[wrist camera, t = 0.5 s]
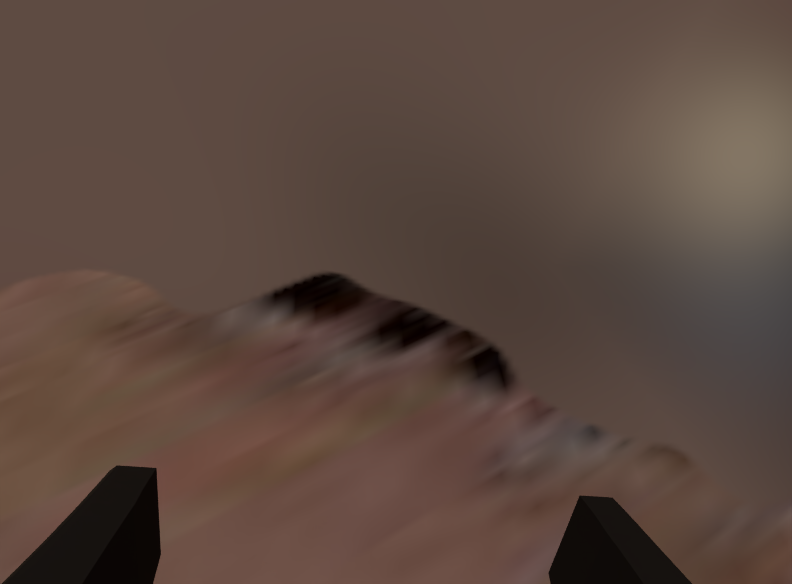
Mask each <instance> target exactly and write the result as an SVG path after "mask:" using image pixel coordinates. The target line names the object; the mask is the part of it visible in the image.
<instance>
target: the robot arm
mask: <svg viewBox="0 0 792 584" xmlns="http://www.w3.org/2000/svg"><path fill="white" fill-rule="evenodd" d="M160 555H161V549H160V529H159V510H158V490H157V471H156V468H147V467H132V466H116V467H114V468H113V469H111V470H110V471H109V472H108V473H107V474H106V476H105V477H104V478H103V479H102V480H101V481H100V482H99V483H98V484H97V486H96V487H95V488H94V489H93V490H92V491H91V492H90V493H89V494H88V495H87V497H86V498H85V499H84V500H83V501H82V502H81V503H80V504H79V505H78V506H77V507H76V509H75V510H74V511H73V512H72V513H71V514H70V515H69V516H68V517H67V518H66V519H65V520H64V521H63V522H62V523H61V524H60V525H59V526H58V528H57V529H56V530H55V531H54V532H53V533H52V534H51V535H50V536H49V537H48V538H47V539H46V540H45V541H44V542H43V543H42V544H41V545H40V546H39V547H38V548H37V549H36V550H35V551H34V552H33V553H32V554H31V555H30V556H29V557H28V558H27V559H26V560H25V561H24V562H23V563H22V564H21V565H20V566H19V567H18V568H17V569H16V570H15V571H14V572H13V573H12V574H11V575H10V576H9V577H8V578H7V579H6V580H5V581H4V582H3V583H2V584H153V581H154V578H155V574H156V570H157V566H158V563H159V559H160ZM549 578H550V583H551V584H692V583H691V582H690V581H689V580H688V579H687V578H686V577H685V576H684V574H683V573H682V572H681V571H680V570H679V569H678V568H677V567H676V566H675V565H674V564H673V563H672V561H671V560H670V559H669V558H668V557H667V556H666V555H665V554H664V553H663V552H662V551H661V549H660V548H659V547H658V546H657V545H656V544H655V543H654V542H653V541H652V540H651V538H650V537H649V536H648V535H647V534H646V533H645V532H644V531H643V530H642V529H641V528H640V526H639V525H638V524H637V523H636V522H635V521H634V520H633V519H632V518H631V517H630V516H629V515H628V513H627V512H626V511H625V510H624V509H623V508H622V507H621V506H620V505H619V504H618V503H617V502H616V501H615V500H614V499H613V498H609V497H594V496H579V499H578V501H577V504H576V506H575V509H574V511H573V514H572V516H571V519H570V521H569V523H568V526H567V528H566V531H565V533H564V536H563V538H562V541H561V543H560V546H559V548H558V551H557V553H556V556H555V558H554V561H553V563H552V566H551V568H550V571H549Z"/></svg>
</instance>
